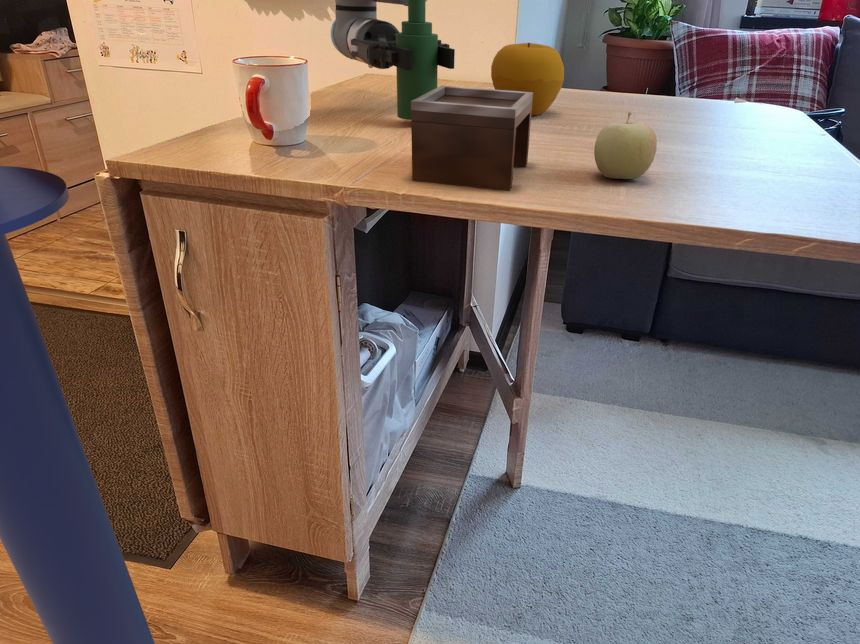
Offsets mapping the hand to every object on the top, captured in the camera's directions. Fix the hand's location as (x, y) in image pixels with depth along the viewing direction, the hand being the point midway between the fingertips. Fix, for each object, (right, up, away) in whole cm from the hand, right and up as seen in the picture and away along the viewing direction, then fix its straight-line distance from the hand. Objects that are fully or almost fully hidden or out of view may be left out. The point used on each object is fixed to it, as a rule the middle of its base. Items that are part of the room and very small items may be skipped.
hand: (430, 59), depth 94 cm
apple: (+16, 0, +20) cm, 26 cm away
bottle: (-3, -5, +8) cm, 10 cm away
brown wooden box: (+6, -21, -14) cm, 26 cm away
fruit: (+25, -22, -14) cm, 36 cm away
